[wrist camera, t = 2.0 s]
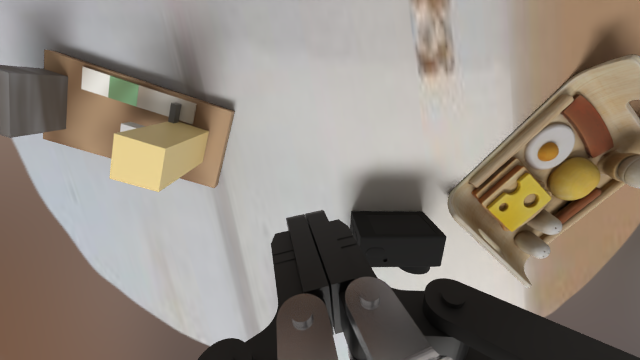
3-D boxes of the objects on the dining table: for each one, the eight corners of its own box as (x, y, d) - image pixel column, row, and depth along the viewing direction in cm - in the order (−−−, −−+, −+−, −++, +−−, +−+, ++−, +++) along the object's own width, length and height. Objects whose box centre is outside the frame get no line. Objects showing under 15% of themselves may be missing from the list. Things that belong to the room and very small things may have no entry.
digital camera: (348, 244, 38) (356, 276, 32) (350, 211, 37) (359, 237, 30) (417, 244, 39) (439, 275, 32) (422, 211, 37) (447, 237, 31)
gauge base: (234, 111, 32) (214, 116, 25) (217, 184, 34) (195, 207, 28) (54, 51, 29) (-24, 38, 22) (52, 137, 32) (-18, 149, 25)
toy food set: (587, 58, 32) (670, 48, 25) (653, 152, 36) (738, 167, 29) (433, 203, 37) (463, 230, 30) (506, 269, 42) (548, 307, 35)
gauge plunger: (212, 114, 30) (169, 124, 21) (202, 162, 32) (158, 191, 23) (144, 91, 29) (66, 91, 20) (138, 142, 31) (63, 165, 21)
